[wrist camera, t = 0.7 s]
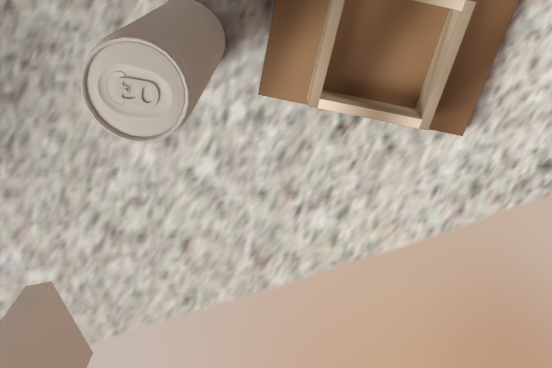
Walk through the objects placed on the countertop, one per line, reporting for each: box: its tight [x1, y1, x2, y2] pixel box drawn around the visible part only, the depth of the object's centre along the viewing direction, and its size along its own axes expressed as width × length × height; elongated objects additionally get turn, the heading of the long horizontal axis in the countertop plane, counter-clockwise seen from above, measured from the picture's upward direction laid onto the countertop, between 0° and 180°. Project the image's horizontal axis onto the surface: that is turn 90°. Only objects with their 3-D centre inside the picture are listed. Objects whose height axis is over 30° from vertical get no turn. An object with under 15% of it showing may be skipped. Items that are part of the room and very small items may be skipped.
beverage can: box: [80, 0, 225, 143], centre depth 25 cm, size 5×5×12 cm
